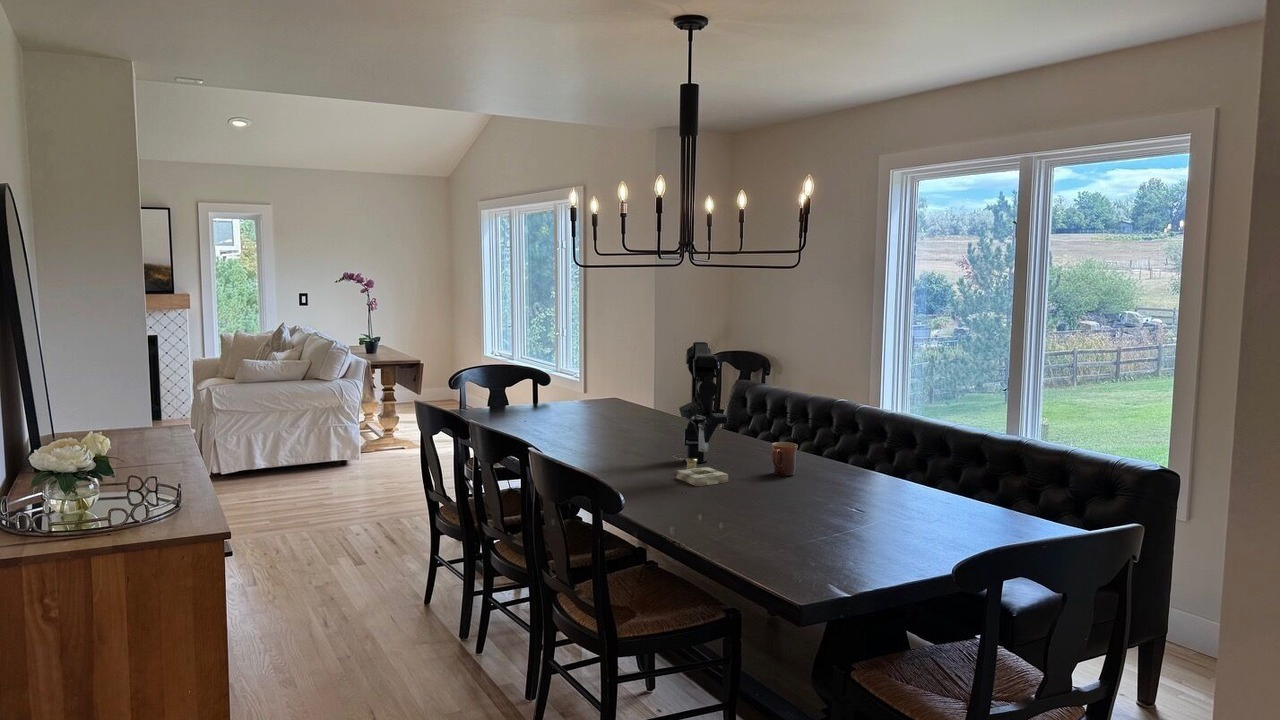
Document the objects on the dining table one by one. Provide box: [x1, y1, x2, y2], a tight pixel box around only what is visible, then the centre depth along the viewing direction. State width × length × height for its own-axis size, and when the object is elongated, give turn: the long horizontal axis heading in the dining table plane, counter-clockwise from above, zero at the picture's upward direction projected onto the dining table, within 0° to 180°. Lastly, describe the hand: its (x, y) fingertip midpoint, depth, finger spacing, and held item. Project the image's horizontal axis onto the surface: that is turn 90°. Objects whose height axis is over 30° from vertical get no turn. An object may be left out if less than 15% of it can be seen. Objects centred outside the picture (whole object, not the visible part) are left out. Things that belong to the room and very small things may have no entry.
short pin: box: [685, 457, 697, 469], centre depth 296 cm, size 4×4×5 cm
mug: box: [771, 441, 799, 477], centre depth 293 cm, size 12×9×10 cm
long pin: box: [698, 423, 709, 453], centre depth 284 cm, size 4×4×9 cm
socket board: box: [676, 466, 729, 487], centre depth 285 cm, size 12×12×3 cm
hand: (703, 441), depth 284 cm, fingers closed on long pin, 3 cm apart
